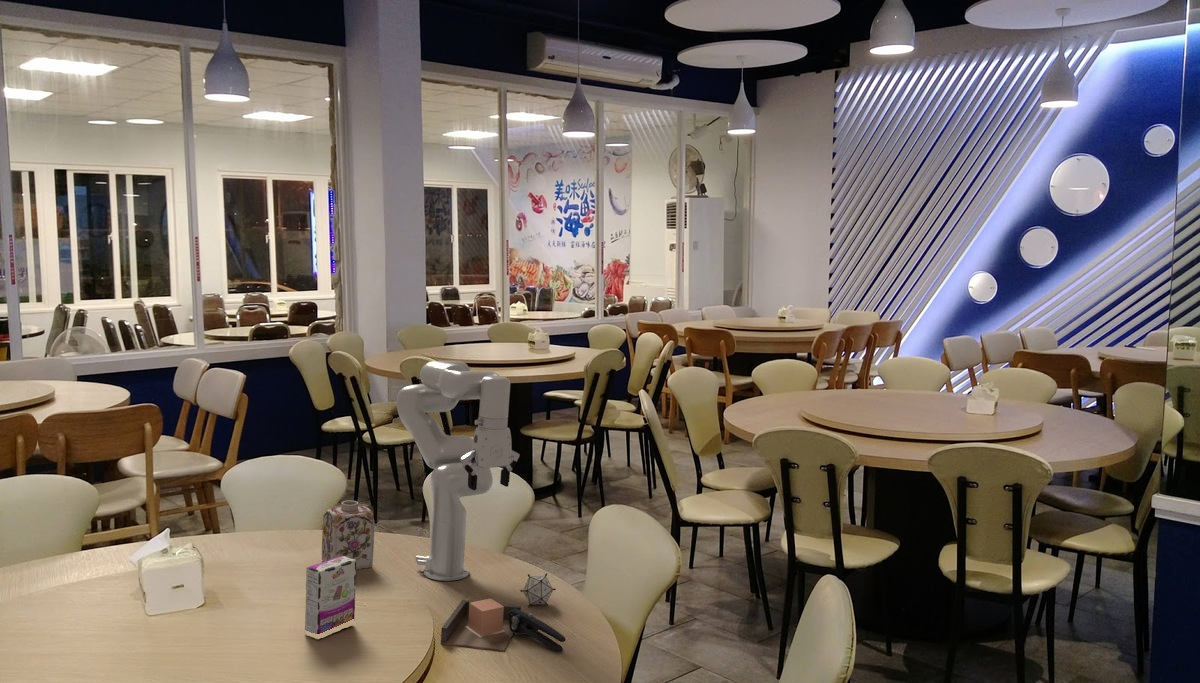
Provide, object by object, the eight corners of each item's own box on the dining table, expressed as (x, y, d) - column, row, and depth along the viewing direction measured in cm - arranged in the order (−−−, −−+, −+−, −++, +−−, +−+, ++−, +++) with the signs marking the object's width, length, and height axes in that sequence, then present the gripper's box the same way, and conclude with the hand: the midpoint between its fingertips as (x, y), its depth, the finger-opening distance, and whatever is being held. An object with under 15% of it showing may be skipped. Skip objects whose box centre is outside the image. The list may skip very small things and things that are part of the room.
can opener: (499, 630, 215) (501, 608, 215) (520, 623, 220) (523, 601, 220) (551, 657, 203) (554, 633, 203) (572, 649, 209) (575, 626, 208)
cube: (468, 626, 216) (469, 602, 215) (489, 621, 220) (490, 598, 219) (480, 635, 211) (482, 611, 211) (502, 630, 215) (503, 606, 214)
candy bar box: (340, 620, 215) (343, 554, 214) (354, 626, 213) (358, 559, 211) (302, 635, 206) (305, 566, 205) (317, 641, 203) (320, 571, 202)
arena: (440, 643, 206) (441, 627, 206) (461, 614, 224) (462, 599, 224) (504, 651, 205) (505, 635, 204) (520, 621, 223) (521, 606, 222)
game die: (540, 621, 233) (548, 600, 227) (512, 605, 234) (519, 584, 228) (555, 595, 240) (563, 574, 233) (527, 580, 241) (535, 559, 235)
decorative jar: (360, 555, 263) (363, 495, 261) (373, 568, 253) (376, 506, 251) (319, 560, 256) (322, 499, 255) (331, 573, 246) (334, 509, 245)
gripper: (470, 427, 224) (466, 494, 226) (528, 424, 235) (523, 487, 236) (456, 422, 230) (452, 486, 232) (513, 418, 241) (508, 480, 242)
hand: (488, 487), depth 234 cm, fingers open, 9 cm apart
